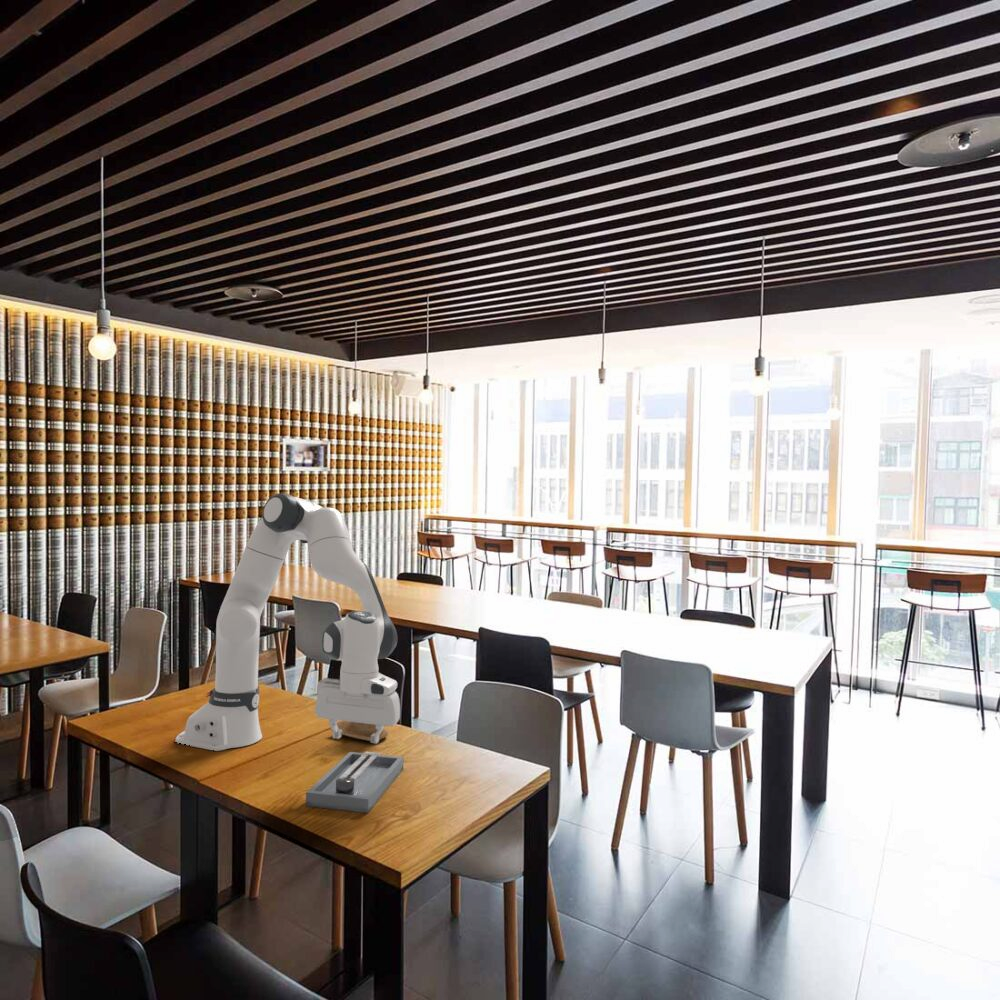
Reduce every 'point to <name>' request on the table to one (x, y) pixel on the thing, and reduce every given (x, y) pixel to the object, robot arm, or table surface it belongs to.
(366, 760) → the steel tongs
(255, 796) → the table surface
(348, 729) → the stone cup
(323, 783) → the utensil tray
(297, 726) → the table surface
